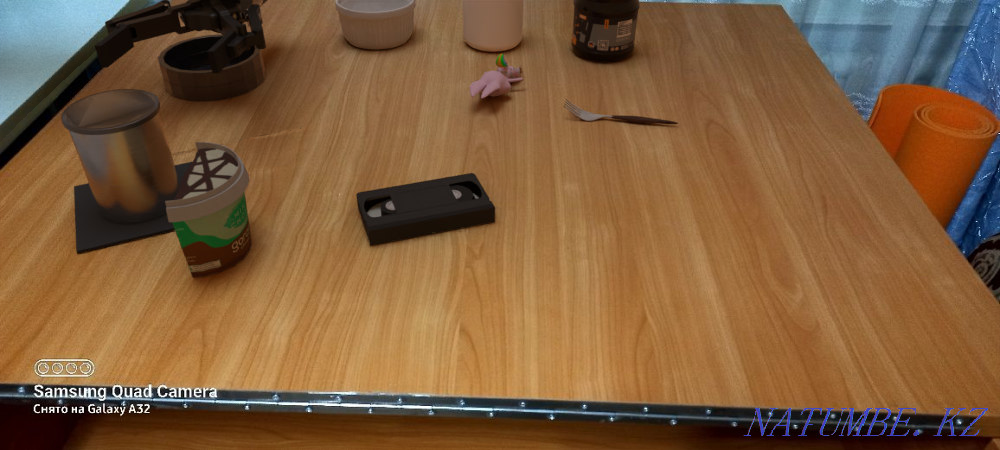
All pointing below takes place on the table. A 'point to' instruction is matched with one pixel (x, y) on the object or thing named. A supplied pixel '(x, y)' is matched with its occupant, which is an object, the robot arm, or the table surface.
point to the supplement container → (604, 29)
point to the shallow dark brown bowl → (208, 71)
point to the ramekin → (376, 22)
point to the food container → (212, 211)
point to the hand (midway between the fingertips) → (156, 59)
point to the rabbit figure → (497, 79)
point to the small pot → (124, 153)
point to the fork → (613, 116)
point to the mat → (104, 233)
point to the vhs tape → (424, 208)
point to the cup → (492, 24)
